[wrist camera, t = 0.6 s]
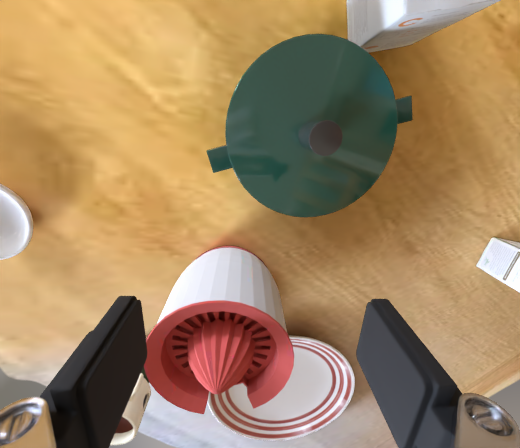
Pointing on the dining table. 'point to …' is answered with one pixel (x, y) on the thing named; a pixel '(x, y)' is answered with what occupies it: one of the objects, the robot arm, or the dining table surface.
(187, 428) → the dining table surface
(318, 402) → the dinner plate
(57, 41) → the dining table surface
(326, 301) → the dining table surface
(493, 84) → the dining table surface
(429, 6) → the small box
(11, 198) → the spoon rest
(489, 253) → the syrup box
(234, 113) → the lid
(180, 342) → the citrus juicer
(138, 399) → the character mug
